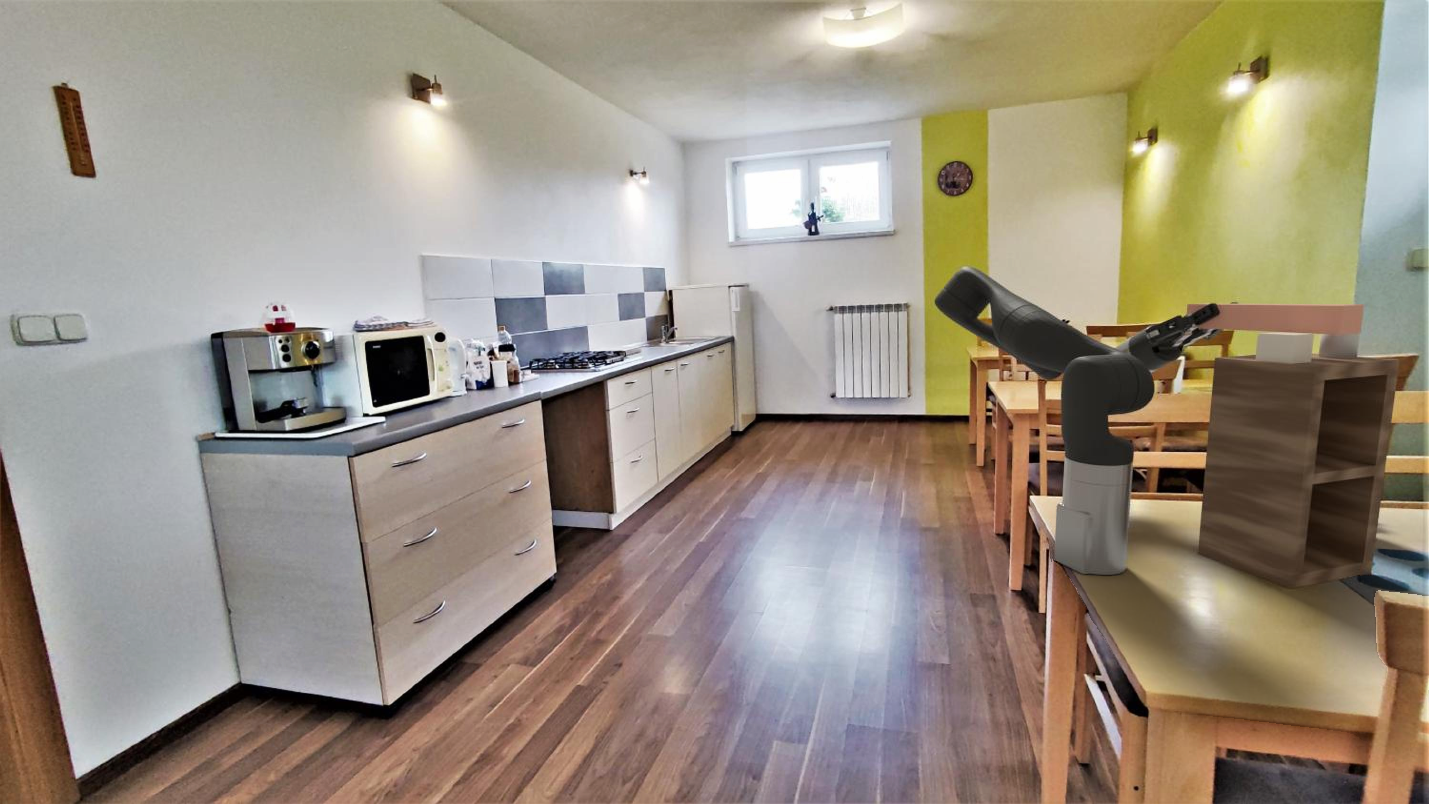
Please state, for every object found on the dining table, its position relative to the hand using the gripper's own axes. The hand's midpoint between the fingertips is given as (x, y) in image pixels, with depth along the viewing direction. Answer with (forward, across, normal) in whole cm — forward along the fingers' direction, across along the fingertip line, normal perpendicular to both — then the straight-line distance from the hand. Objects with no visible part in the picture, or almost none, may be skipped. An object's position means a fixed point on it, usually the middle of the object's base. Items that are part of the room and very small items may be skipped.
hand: (1227, 307), depth 109 cm
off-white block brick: (+8, -5, +13) cm, 16 cm away
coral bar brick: (+4, 0, +6) cm, 7 cm away
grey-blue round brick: (+8, +5, +13) cm, 16 cm away
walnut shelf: (-9, 0, +40) cm, 41 cm away
